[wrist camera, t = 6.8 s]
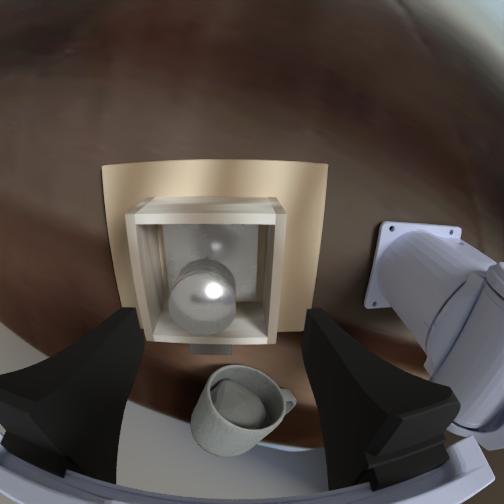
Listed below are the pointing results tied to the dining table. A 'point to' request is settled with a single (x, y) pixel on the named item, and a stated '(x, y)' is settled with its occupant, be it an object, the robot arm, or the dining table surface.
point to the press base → (218, 212)
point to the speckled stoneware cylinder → (238, 410)
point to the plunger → (209, 273)
